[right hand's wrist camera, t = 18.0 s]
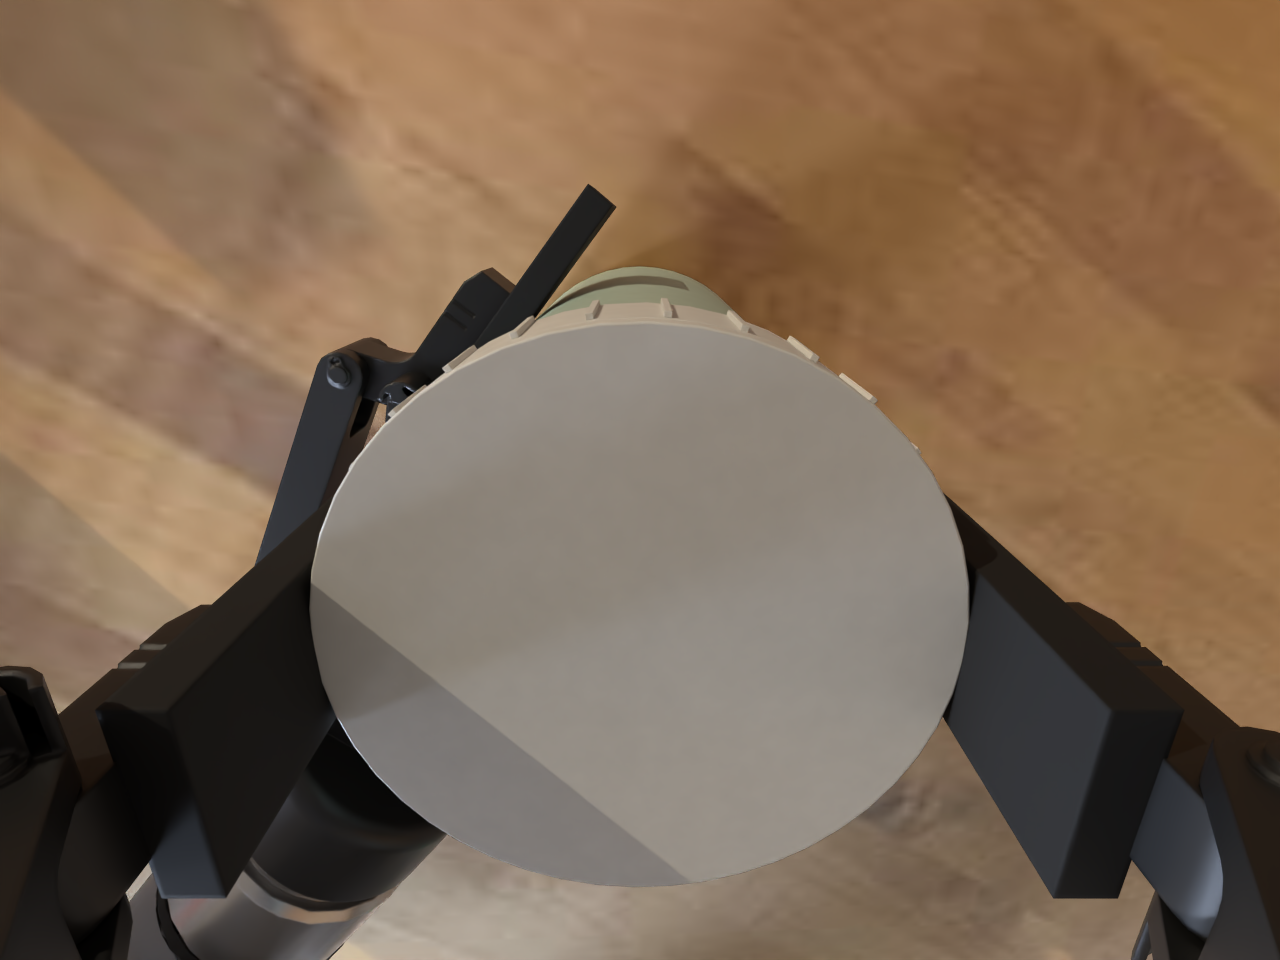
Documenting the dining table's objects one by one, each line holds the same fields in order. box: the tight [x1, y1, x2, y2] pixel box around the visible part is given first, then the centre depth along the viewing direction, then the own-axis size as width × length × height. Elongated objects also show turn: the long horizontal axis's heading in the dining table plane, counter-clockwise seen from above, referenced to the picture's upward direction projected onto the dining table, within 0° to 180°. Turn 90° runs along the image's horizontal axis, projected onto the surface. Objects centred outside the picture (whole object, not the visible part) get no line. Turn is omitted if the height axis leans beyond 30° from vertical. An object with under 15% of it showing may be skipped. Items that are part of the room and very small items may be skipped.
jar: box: [535, 266, 741, 321], centre depth 18 cm, size 9×9×16 cm
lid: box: [309, 298, 969, 887], centre depth 11 cm, size 10×10×2 cm
